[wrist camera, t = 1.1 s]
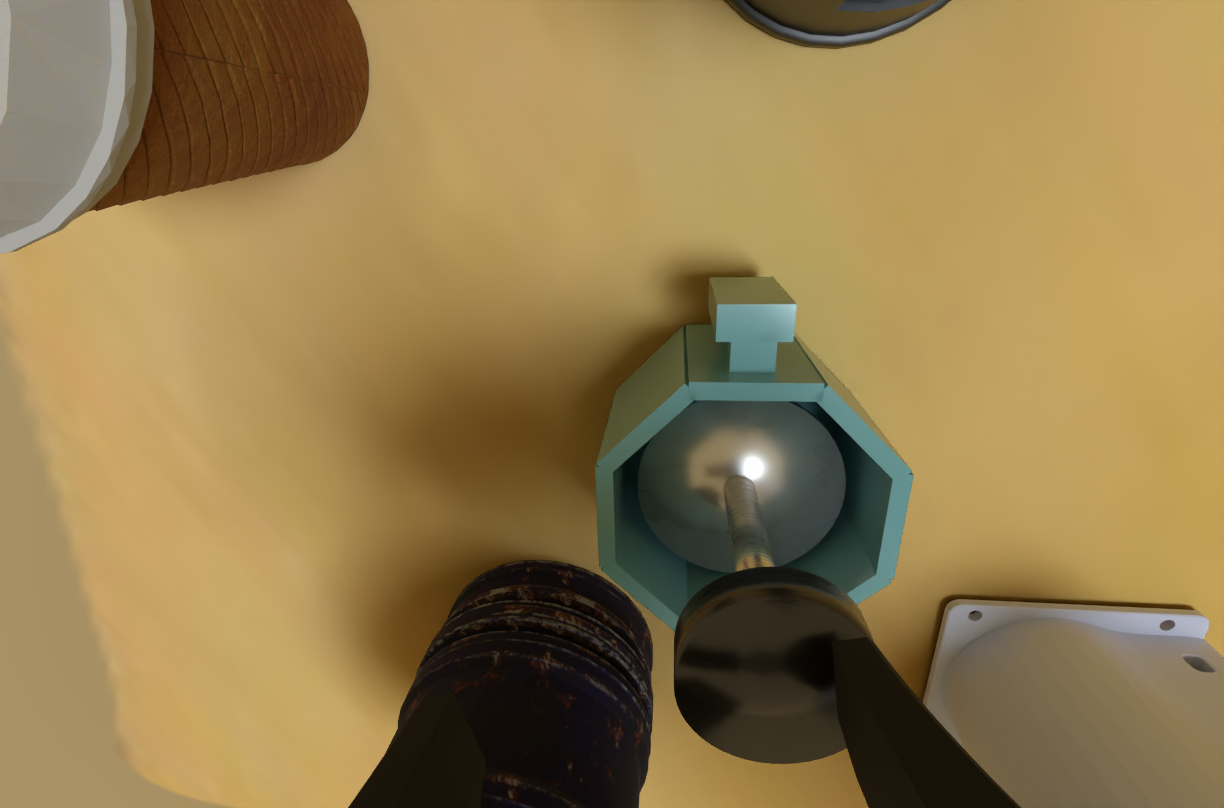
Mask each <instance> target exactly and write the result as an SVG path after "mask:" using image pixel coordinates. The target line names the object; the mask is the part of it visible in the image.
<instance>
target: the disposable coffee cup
mask: <svg viewBox="0 0 1224 808" xmlns="http://www.w3.org/2000/svg"><path fill="white" fill-rule="evenodd" d="M367 94H368V60H367V53H366V47H365V42H364V39H363V36H362V33H361V30H360V27H359V24H358V21H357V19H356V17H355V15H354V13H353V11H352V9H351V7H350V6H349V4H348V2H347V0H0V254H1V253H8V252H14V251H17V250H19V249H21V248H23V247H26V246H28V245H30V244H32V243H34V242H36V241H39V240H41V239H43V238H45V237H47V236H49V235H51V234H54V233H56V232H58V231H60V230H62V229H63V228H65V227H66V226H67V225H68V224H69V223H70V222H71V221H72V220H74V219H76V218H77V217H79V216H81V215H82V214H84V213H86V212H88V211H92V210H96V211H99V210H102V209H105V208H108V207H112V206H115V205H124V204H128V203H131V202H134V201H138V200H142V201H143V200H147V199H150V198H153V197H156V196H160V195H161V196H165V195H168V194H172V193H175V192H178V191H180V192H183V191H186V190H190V189H193V188H199V187H203V186H206V185H210V184H213V185H214V184H217V183H221V182H224V181H228V180H229V181H232V180H235V179H239V178H244V177H248V176H251V175H258V174H261V173H265V172H271V171H274V170H278V169H283V168H287V167H292V166H296V165H304V164H308V163H312V162H316V161H319V160H322V159H323V158H325V157H327V156H328V155H330V154H332V153H333V152H335V151H337V150H338V149H339V148H340V147H341V146H342V145H343V144H344V143H345V142H346V141H347V140H348V139H349V138H350V136H351V135H352V133H353V132H354V130H355V129H356V127H357V125H358V123H359V120H360V118H361V115H362V113H363V110H364V107H365V103H366V99H367Z"/></svg>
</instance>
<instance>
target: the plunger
mask: <svg viewBox="0 0 1224 808" xmlns="http://www.w3.org/2000/svg"><path fill="white" fill-rule="evenodd" d="M637 488H638V498H639V503H640V507H641V510H642V513H643V515H644V518H645V520H646V522H647V523H648V525H649V527H650V529H651V530H652V532H653V533H654V534H655V535H656V537H657V538H658V539H659V540H660V541H661V542H662V543H663V544H664V545H665V546H666V547H667V548H668V549H670V550H671V551H672V552H674V553H675V554H676V555H678V556H680V557H681V558H683V559H685V560H686V561H689V562H691V563H693V564H695V565H697V566H701V567H704V568H707V569H710V570H715V571H720V572H729V573H730V574H727V575H725V576H723V577H720V578H718V579H716V580H714V581H713V582H711V583H709V584H708V585H706V586H705V587H703V588H702V589H701V590H700V591H699V592H697V593H696V594H695V595H694V596H693V597H692V598H691V599H690V601H689V602H688V603H687V604H686V606H685V607H684V609H683V610H682V612H681V614H680V616H679V619H678V621H677V625H676V628H675V636H674V692H675V698H676V702H677V705H678V707H679V710H680V712H681V714H682V716H683V717H684V719H685V720H686V722H687V723H688V724H689V726H690V727H691V728H692V729H693V730H694V731H695V732H696V733H697V734H698V735H699V736H700V737H701V738H703V739H704V740H705V741H707V742H708V743H710V744H711V745H713V746H715V747H716V748H718V749H720V750H722V751H724V752H726V753H729V754H731V755H734V756H737V757H740V758H743V759H747V760H751V761H756V762H763V763H772V764H790V763H801V762H808V761H813V760H817V759H821V758H824V757H827V756H830V755H833V754H835V753H837V752H839V751H842V750H844V749H846V748H847V746H846V742H845V739H844V736H843V733H842V730H841V726H840V723H839V720H838V715H837V702H836V689H835V676H834V663H833V651H832V642H833V641H840V640H847V639H855V638H862V637H868V638H869V639H871V640H872V641H873V638H872V636H871V634H870V631H869V629H868V626H867V624H866V622H865V619H864V617H863V615H862V613H861V611H860V609H859V608H858V606H857V605H856V603H855V602H854V601H853V600H852V599H851V598H850V597H849V595H848V594H847V593H845V592H844V591H843V590H842V589H840V588H839V587H838V586H836V585H835V584H833V583H832V582H830V581H828V580H826V579H824V578H822V577H820V576H818V575H815V574H812V573H809V572H806V571H803V570H798V569H793V568H786V567H779V566H781V565H784V564H787V563H789V562H791V561H793V560H795V559H797V558H798V557H800V556H802V555H803V554H805V553H807V552H808V551H809V550H810V549H812V548H813V547H814V546H815V545H817V544H818V543H819V542H820V541H821V540H822V539H823V537H824V536H825V535H826V534H827V533H828V531H829V530H830V529H831V527H832V526H833V524H834V522H835V521H836V519H837V517H838V515H839V513H840V510H841V507H842V505H843V500H844V496H845V488H846V475H845V467H844V463H843V459H842V456H841V454H840V451H839V449H838V447H837V445H836V443H835V441H834V440H833V438H832V436H831V435H830V433H829V432H828V430H827V429H826V427H825V426H824V425H823V424H822V423H821V422H820V420H819V419H818V418H816V417H815V416H814V415H813V414H812V413H811V412H810V411H808V410H807V409H805V408H804V407H802V406H801V405H799V404H798V403H795V402H793V401H720V400H694V401H693V402H691V403H690V404H689V405H688V406H687V407H686V408H685V409H684V410H682V411H681V412H680V413H679V414H678V415H677V416H676V417H675V418H673V419H672V420H671V421H670V422H669V423H668V424H667V425H665V426H664V427H663V428H662V429H661V430H660V431H659V432H658V433H656V434H655V435H654V436H653V437H652V438H651V439H650V440H649V441H648V443H647V445H646V447H645V449H644V452H643V455H642V457H641V462H640V466H639V472H638V485H637ZM873 642H874V641H873Z"/></svg>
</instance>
